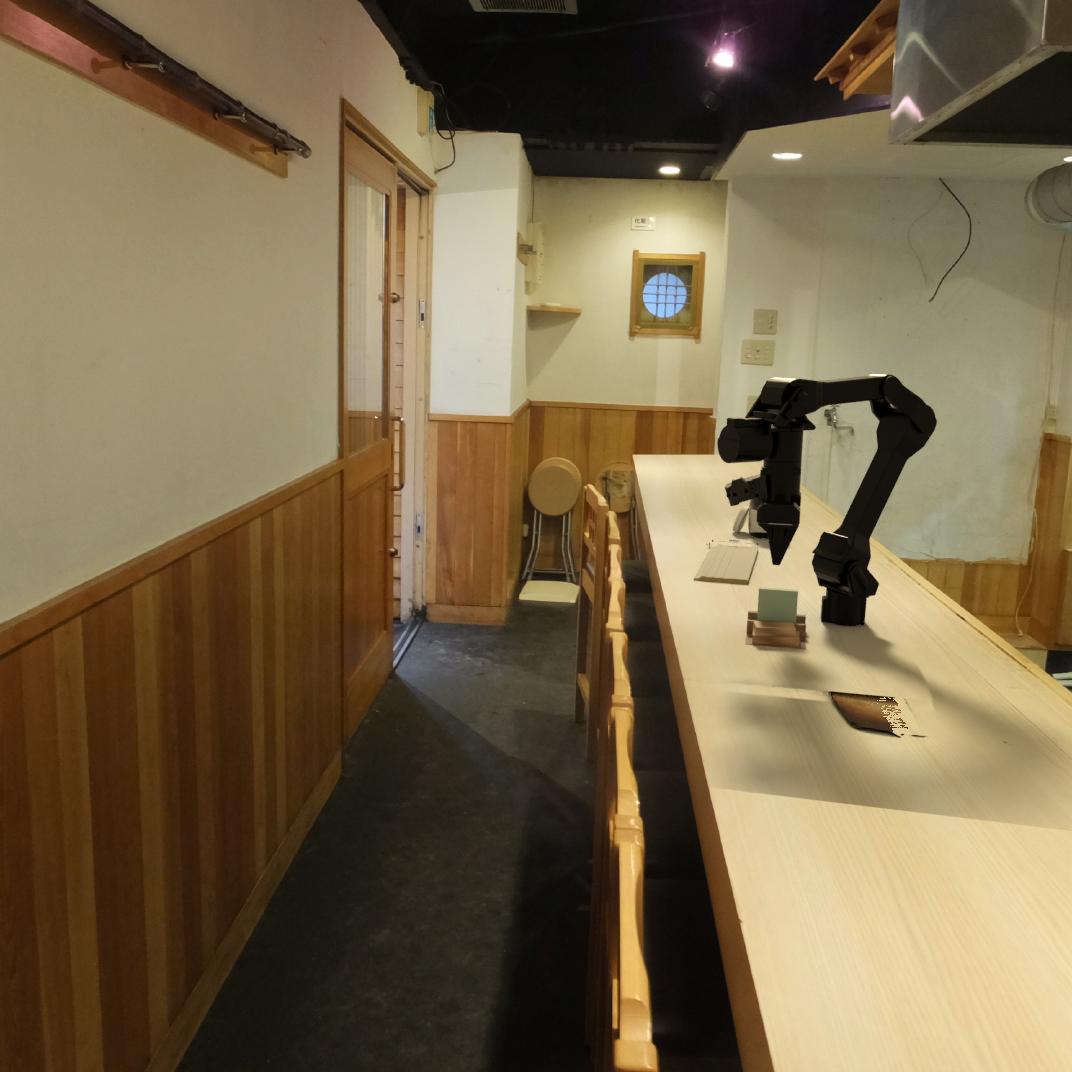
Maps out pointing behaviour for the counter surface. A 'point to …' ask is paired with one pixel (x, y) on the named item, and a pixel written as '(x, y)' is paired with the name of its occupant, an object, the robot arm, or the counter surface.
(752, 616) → the rack
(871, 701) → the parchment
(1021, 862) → the counter surface
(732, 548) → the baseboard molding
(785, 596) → the block
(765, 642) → the offcut lower
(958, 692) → the counter surface
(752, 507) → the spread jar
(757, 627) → the offcut upper
